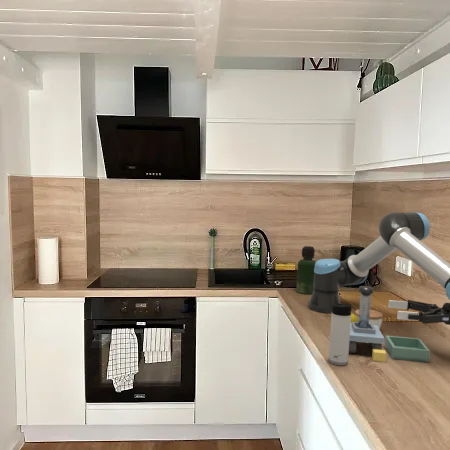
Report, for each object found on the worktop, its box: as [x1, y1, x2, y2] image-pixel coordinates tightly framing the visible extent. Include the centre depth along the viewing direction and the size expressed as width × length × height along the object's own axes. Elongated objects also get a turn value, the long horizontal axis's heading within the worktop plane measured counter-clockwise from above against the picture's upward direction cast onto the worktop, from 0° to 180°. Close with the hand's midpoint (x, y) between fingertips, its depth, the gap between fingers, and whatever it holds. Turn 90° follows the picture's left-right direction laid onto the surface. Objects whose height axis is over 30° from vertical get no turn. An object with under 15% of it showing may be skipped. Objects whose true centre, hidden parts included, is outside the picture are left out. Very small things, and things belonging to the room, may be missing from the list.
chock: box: [371, 348, 388, 363], centre depth 145 cm, size 3×4×3 cm
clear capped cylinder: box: [358, 285, 374, 329], centre depth 153 cm, size 5×5×16 cm
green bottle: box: [295, 245, 317, 295], centre depth 232 cm, size 10×10×25 cm
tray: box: [384, 335, 431, 363], centre depth 151 cm, size 12×12×4 cm
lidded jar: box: [354, 309, 384, 329], centre depth 173 cm, size 11×11×9 cm
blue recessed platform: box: [349, 322, 385, 354], centre depth 154 cm, size 14×12×8 cm
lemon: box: [351, 312, 357, 323], centre depth 171 cm, size 6×6×8 cm
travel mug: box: [328, 303, 353, 367], centre depth 141 cm, size 6×7×20 cm
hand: (392, 309), depth 152 cm, fingers open, 13 cm apart
